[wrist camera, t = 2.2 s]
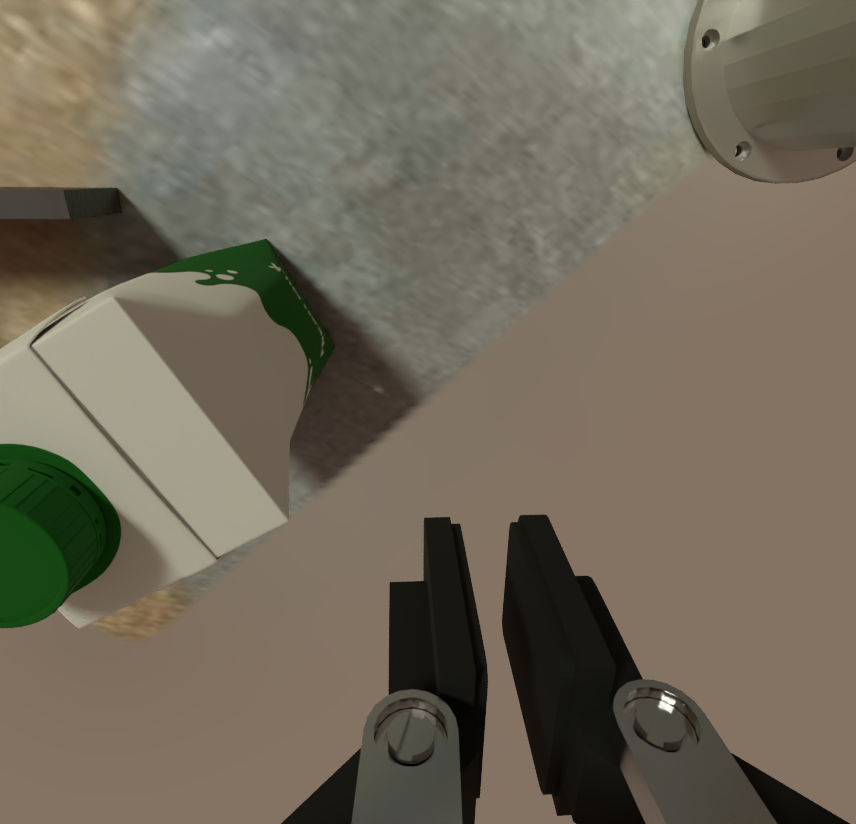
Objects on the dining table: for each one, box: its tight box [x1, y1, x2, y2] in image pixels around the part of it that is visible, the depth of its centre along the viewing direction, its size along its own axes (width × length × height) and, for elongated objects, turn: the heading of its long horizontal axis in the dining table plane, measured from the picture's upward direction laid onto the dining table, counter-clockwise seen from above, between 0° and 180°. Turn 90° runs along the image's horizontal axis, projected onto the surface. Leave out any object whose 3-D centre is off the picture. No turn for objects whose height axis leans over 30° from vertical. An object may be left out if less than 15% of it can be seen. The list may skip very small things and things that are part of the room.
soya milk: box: [0, 239, 335, 628], centre depth 22 cm, size 9×9×20 cm
